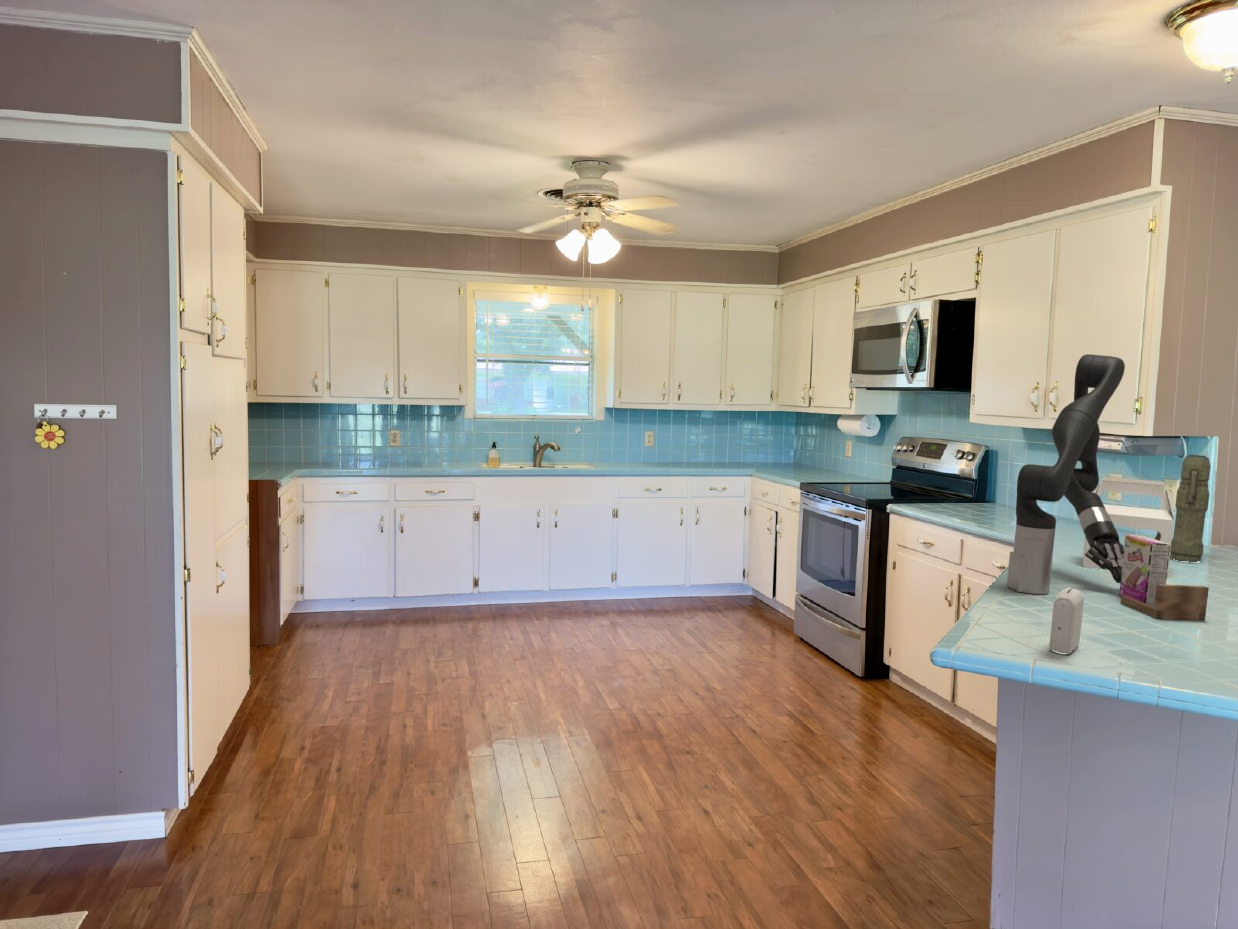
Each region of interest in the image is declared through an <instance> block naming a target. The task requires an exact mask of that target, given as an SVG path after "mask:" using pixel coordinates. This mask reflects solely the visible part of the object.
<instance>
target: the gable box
mask: <svg viewBox="0 0 1238 929" xmlns="http://www.w3.org/2000/svg"><path fill="white" fill-rule="evenodd" d="M1104 492H1105V493H1115V494H1116V493H1118V494H1129V495H1139V496H1140V495H1141V496H1149V497H1152V496H1153V497H1157V498H1158V497H1160V498H1161V499H1160V500H1161V506H1160V508H1154V507H1141V506H1131V505H1122V504H1121V505H1120V504H1110V503H1103V505H1104V507H1105V509H1106V511H1107V513H1108V514H1109V516H1110V518H1111V520H1112V522H1113V524H1114V525H1117V526H1121V527H1125V528H1129V529H1134V530H1135V529H1136V530H1153V531H1155V532H1156V531H1157V533H1156V534H1155V535H1156V536H1155V537H1154V539H1155V540H1158V541H1161V542H1165V543H1168V544H1170V550H1171V541H1172V539H1173V533H1174V525H1175V520H1174V515H1173V512H1174V511H1175V510H1174V509H1175V506H1174V505H1175V493H1174V492H1169V493H1168V491H1167V490H1166V484H1165V482H1164V481H1161V480H1152V479H1151V480H1150V479H1149V480H1148V479H1140V478H1139V479H1138V478H1126V477H1115V476H1103V477H1102V478H1101V480H1100V482H1099V484H1098V486H1097V488H1096V489H1095V490H1094V491H1093V493H1096V494H1097V495H1099V497H1100V498H1101V496H1102V494H1103V493H1104ZM1083 545H1084V546H1083V553H1082V567H1083V568H1087V569H1093V568H1098V569H1097V570H1100V569H1102V568H1100V567H1099V566H1098V565H1097V564H1095V563H1094V562H1093V561H1092V560H1090V559H1089V558H1088V557H1086V556H1085V553H1086V552H1087V551H1088V550H1089V549H1090V545H1089V543H1088V541H1087V539H1086V536H1085V535H1084V544H1083ZM1170 553H1171V552H1169V560H1168V568H1169V564H1170ZM1122 555H1123V554H1121V556H1122ZM1099 561H1100V560H1099ZM1122 561H1123V556H1122ZM1100 562H1101V563H1103V562H1102V561H1100ZM1102 571H1108V569H1103V570H1102ZM1168 574H1169V569H1168V570H1167V577H1168Z"/></svg>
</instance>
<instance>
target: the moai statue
mask: <svg viewBox="0 0 1238 929" xmlns="http://www.w3.org/2000/svg"><path fill="white" fill-rule="evenodd" d="M1181 465H1182V466H1181V472H1180V479H1181V480H1180V483H1179V487H1178V488H1177V490H1176V496H1175V503H1174V505H1175V506H1174V507H1175V509H1176V512H1175V520H1174V527H1173V535H1172V541H1171V550H1170V558H1172V559H1175V560H1178V561H1189V562H1197V561H1201V562H1202V556H1203V555H1204V548H1205V547H1204V544H1203V537H1204V529H1205V528H1204V527H1205V520H1206V513H1207V511H1208V509H1209V501H1210V491H1209V481H1210V472H1211V462H1210V459H1209V457H1207V456H1206V455H1196V454H1188V455H1186V456H1185V457H1184V459H1183V462H1182V464H1181ZM1170 558H1169V559H1170ZM1178 561H1177V562H1178Z"/></svg>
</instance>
